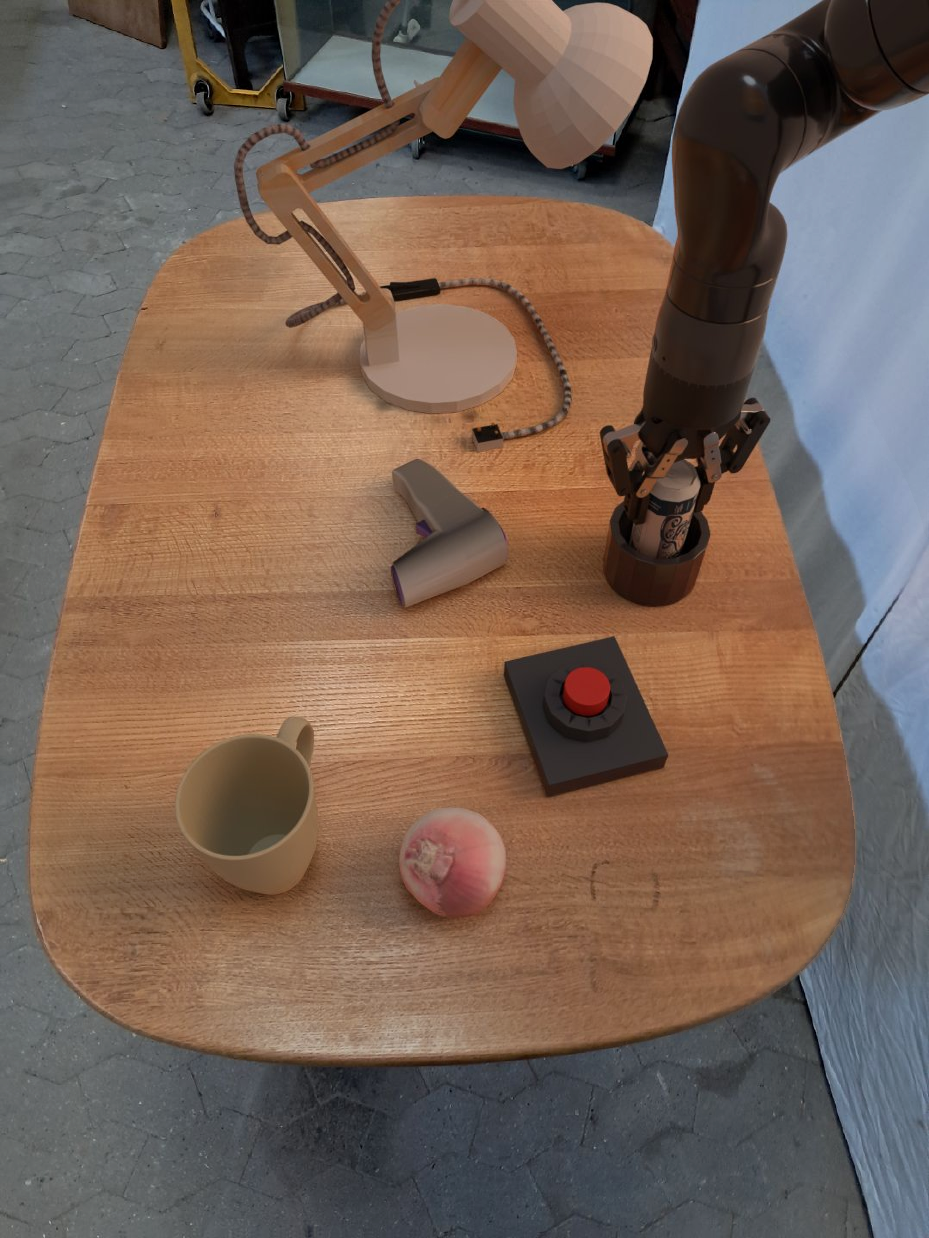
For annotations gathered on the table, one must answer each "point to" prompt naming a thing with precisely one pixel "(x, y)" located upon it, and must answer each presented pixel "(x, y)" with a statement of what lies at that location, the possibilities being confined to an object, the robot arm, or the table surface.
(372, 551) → the table surface
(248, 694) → the table surface
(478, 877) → the onion
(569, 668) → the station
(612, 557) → the holder
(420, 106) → the desk lamp
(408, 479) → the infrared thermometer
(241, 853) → the mug
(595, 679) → the button
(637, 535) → the beer can
